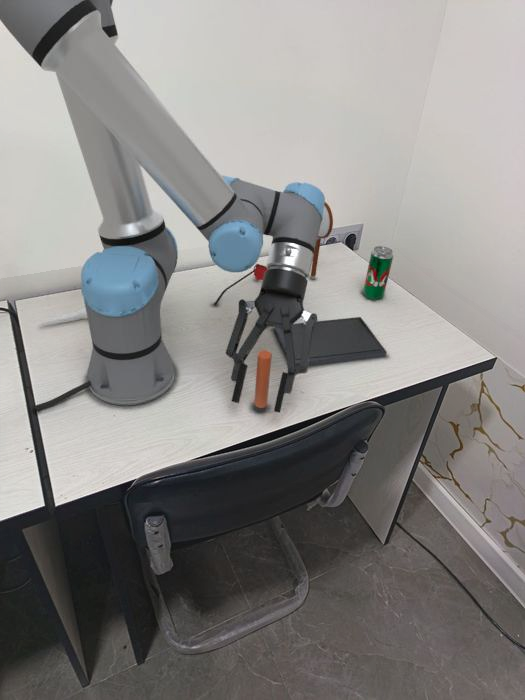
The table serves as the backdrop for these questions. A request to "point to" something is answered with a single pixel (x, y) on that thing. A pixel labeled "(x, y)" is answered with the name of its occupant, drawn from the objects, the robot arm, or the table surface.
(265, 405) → the orange cylindrical rod
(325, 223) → the magnifying glass
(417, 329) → the table surface
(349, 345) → the tablet
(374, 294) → the soda can
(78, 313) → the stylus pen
